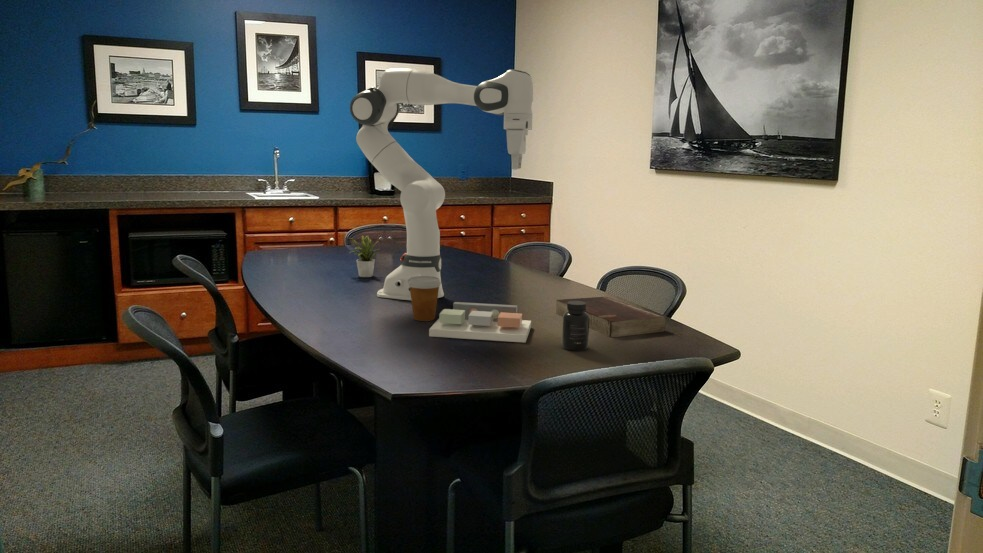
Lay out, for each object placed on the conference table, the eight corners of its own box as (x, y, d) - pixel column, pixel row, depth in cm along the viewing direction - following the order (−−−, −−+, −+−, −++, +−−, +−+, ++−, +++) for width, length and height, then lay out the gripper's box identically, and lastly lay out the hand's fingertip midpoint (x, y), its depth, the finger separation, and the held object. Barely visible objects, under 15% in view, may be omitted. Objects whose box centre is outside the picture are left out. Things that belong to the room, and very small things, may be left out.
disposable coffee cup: (415, 323, 204) (415, 282, 202) (403, 316, 212) (403, 276, 210) (445, 320, 208) (445, 280, 206) (432, 313, 216) (433, 274, 214)
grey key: (468, 324, 192) (468, 315, 192) (472, 319, 198) (472, 310, 198) (490, 325, 191) (490, 316, 191) (493, 320, 197) (493, 311, 197)
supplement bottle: (559, 344, 186) (561, 299, 184) (584, 344, 187) (587, 299, 185) (564, 351, 180) (566, 305, 177) (590, 351, 180) (593, 305, 178)
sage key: (439, 322, 193) (439, 313, 193) (443, 317, 199) (444, 308, 199) (460, 324, 192) (461, 315, 192) (465, 318, 198) (465, 310, 198)
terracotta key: (497, 326, 191) (497, 317, 191) (500, 321, 197) (500, 312, 196) (519, 327, 190) (520, 318, 190) (522, 322, 196) (522, 313, 196)
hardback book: (665, 332, 203) (666, 315, 202) (610, 339, 195) (611, 321, 194) (606, 310, 228) (607, 295, 227) (556, 315, 220) (556, 299, 219)
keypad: (429, 336, 191) (429, 312, 190) (441, 322, 206) (442, 300, 205) (525, 342, 187) (526, 318, 186) (531, 327, 203) (531, 305, 201)
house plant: (341, 273, 278) (340, 231, 275) (375, 271, 284) (375, 230, 281) (350, 279, 266) (349, 236, 263) (386, 277, 271) (385, 235, 268)
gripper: (511, 124, 231) (510, 167, 233) (503, 122, 211) (502, 169, 213) (530, 125, 230) (529, 168, 232) (525, 123, 210) (523, 170, 213)
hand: (516, 169), depth 223 cm, fingers open, 8 cm apart
